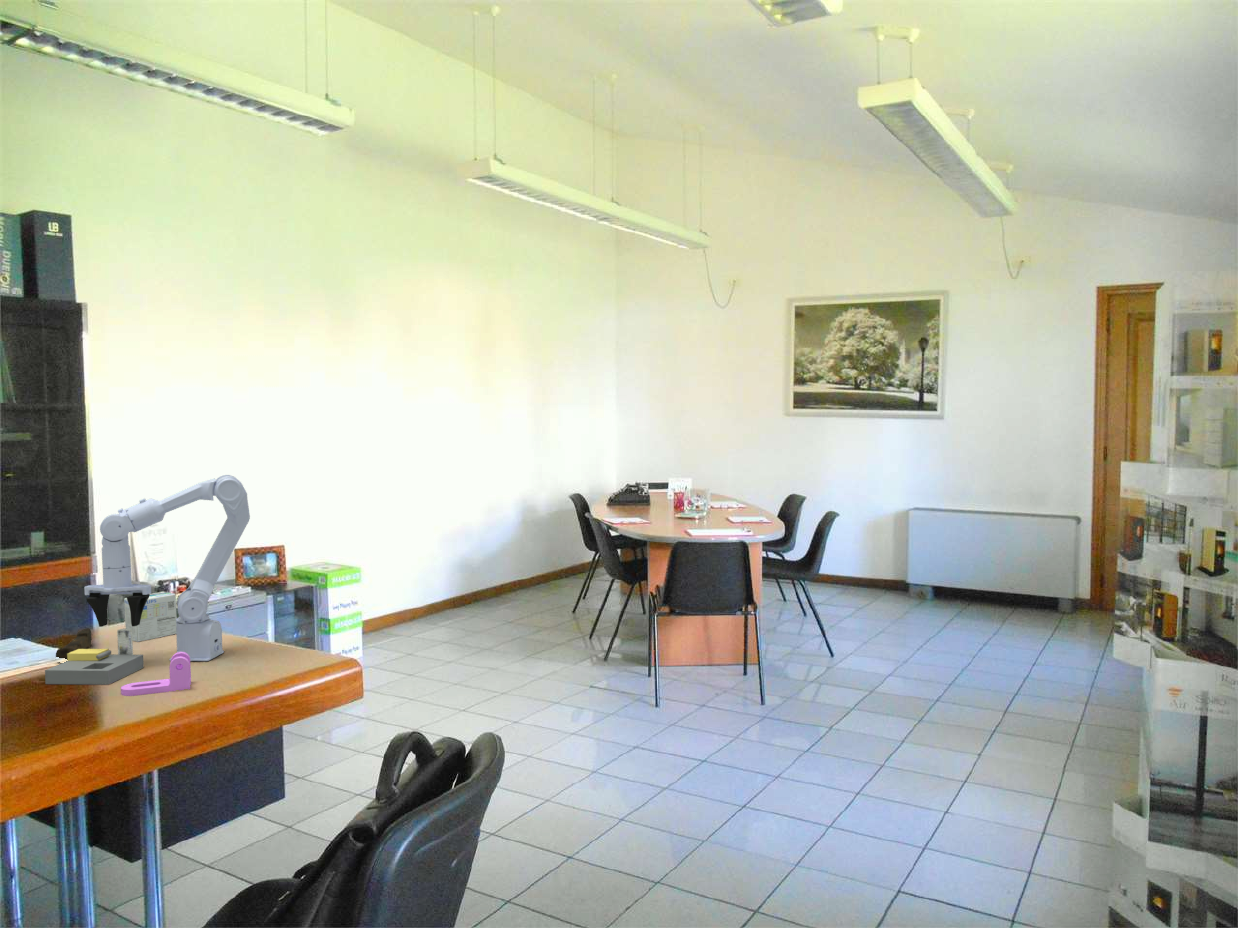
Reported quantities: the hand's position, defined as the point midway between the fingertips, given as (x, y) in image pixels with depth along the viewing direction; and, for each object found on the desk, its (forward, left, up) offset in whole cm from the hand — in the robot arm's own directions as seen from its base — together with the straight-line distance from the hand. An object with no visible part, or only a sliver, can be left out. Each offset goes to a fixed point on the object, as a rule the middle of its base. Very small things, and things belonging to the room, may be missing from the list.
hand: (119, 625), depth 208 cm
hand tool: (+18, -10, -10) cm, 23 cm away
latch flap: (+4, +5, -6) cm, 9 cm away
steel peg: (0, -1, -9) cm, 9 cm away
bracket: (-18, +18, -10) cm, 27 cm away
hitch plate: (+1, +8, -9) cm, 12 cm away
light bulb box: (+9, -27, -10) cm, 30 cm away
